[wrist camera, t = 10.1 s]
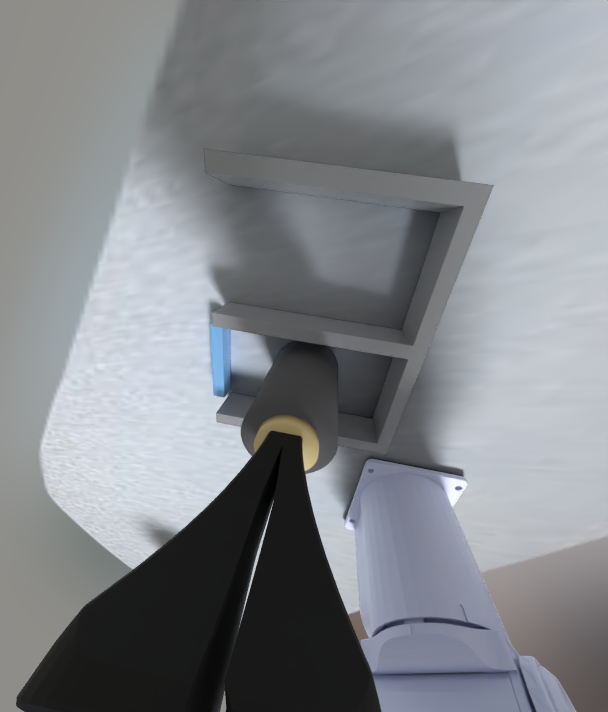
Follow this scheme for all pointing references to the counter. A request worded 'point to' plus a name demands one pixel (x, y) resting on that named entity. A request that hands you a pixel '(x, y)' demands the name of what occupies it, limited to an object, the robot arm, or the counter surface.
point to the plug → (298, 403)
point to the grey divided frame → (406, 346)
